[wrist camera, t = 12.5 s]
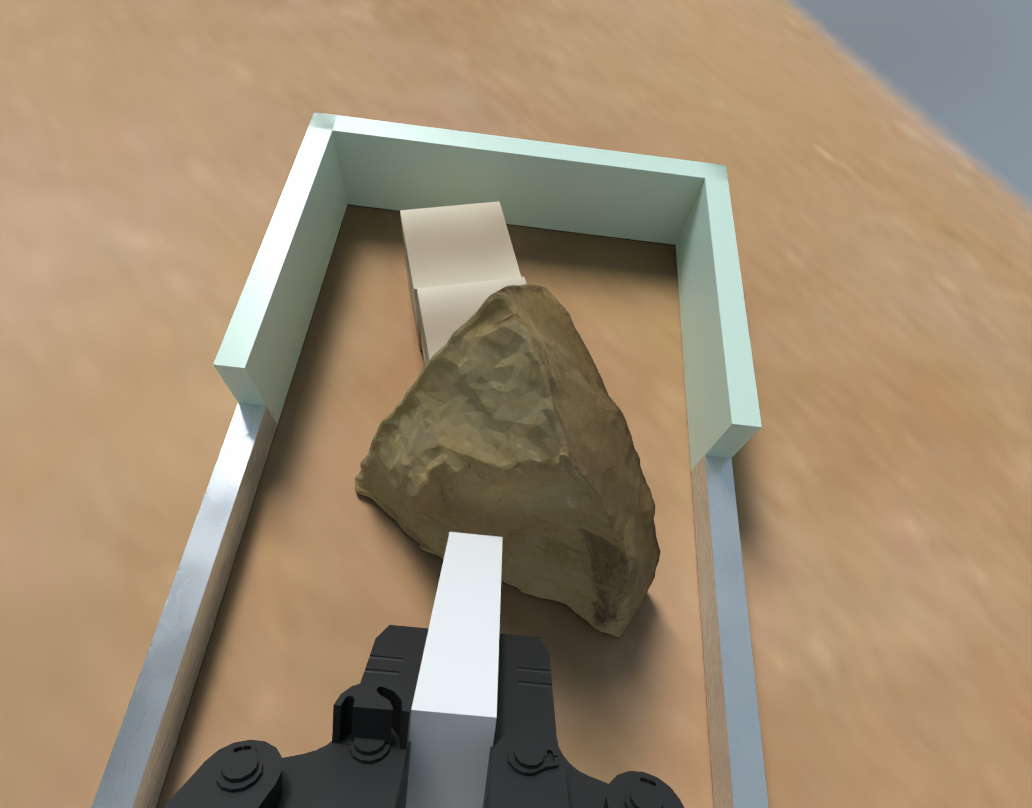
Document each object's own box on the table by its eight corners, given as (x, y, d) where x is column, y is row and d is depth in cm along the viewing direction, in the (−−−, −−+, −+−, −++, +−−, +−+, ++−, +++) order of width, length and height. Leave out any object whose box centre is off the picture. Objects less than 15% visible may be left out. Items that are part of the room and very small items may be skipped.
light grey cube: (536, 419, 24) (550, 365, 20) (437, 435, 23) (433, 382, 20) (515, 338, 26) (524, 276, 22) (422, 350, 25) (416, 288, 22)
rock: (754, 566, 19) (610, 327, 22) (736, 633, 12) (520, 258, 15) (502, 686, 22) (403, 464, 25) (363, 798, 15) (243, 466, 18)
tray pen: (716, 473, 23) (761, 426, 20) (251, 421, 23) (213, 364, 19) (694, 232, 30) (725, 165, 26) (331, 187, 29) (314, 112, 26)
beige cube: (512, 339, 26) (521, 276, 22) (420, 351, 25) (413, 288, 22) (494, 268, 28) (499, 201, 24) (407, 278, 27) (400, 210, 23)
